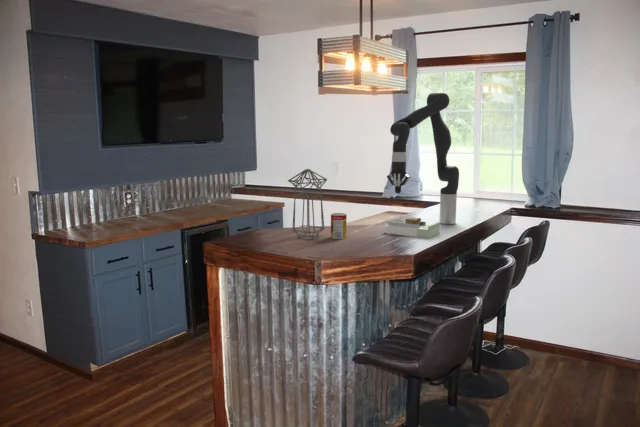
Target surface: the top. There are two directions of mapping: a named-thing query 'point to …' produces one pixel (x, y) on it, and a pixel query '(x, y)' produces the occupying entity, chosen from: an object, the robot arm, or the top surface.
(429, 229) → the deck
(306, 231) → the geometric lantern
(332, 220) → the canned food
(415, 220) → the walnut block
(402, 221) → the channel rails
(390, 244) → the top surface
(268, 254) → the top surface
